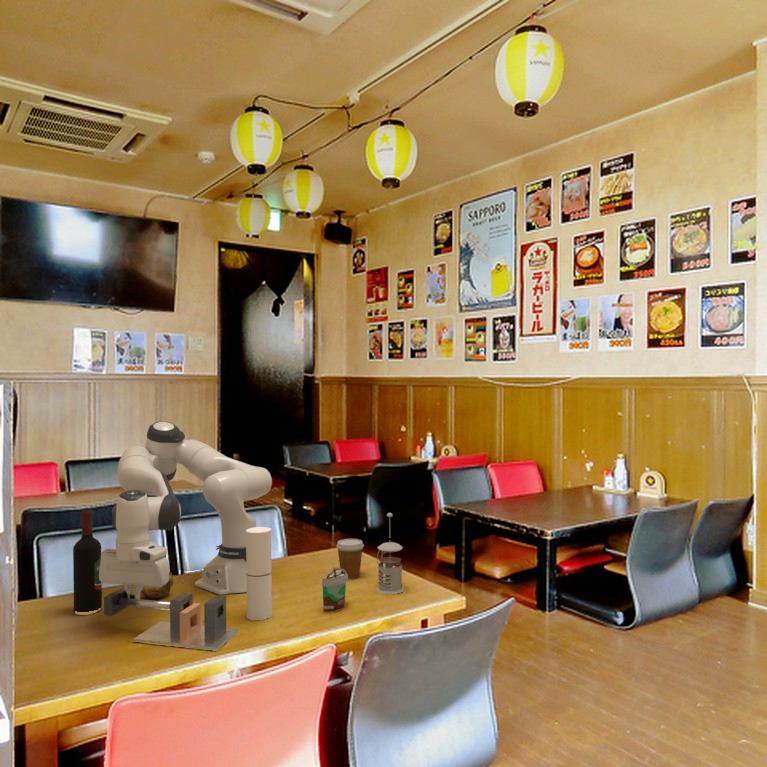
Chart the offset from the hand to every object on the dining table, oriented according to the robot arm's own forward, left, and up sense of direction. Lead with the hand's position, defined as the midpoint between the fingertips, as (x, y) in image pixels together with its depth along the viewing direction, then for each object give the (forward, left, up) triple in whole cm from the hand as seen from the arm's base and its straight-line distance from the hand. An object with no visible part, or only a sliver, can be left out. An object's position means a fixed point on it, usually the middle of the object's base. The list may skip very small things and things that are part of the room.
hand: (134, 600), depth 173 cm
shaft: (+6, -1, -2) cm, 7 cm away
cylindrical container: (+25, +23, -8) cm, 35 cm away
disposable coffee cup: (+29, +66, -8) cm, 73 cm away
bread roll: (-16, +19, -8) cm, 26 cm away
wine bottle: (-23, +2, -8) cm, 24 cm away
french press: (+47, +61, -8) cm, 77 cm away
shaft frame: (+18, +2, -8) cm, 20 cm away
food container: (+41, +40, -8) cm, 58 cm away
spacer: (+19, +2, -7) cm, 21 cm away
